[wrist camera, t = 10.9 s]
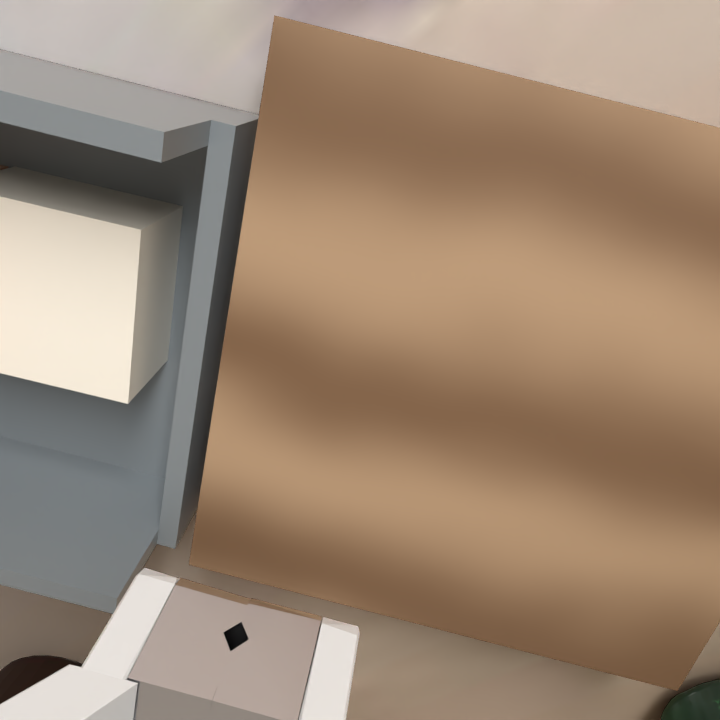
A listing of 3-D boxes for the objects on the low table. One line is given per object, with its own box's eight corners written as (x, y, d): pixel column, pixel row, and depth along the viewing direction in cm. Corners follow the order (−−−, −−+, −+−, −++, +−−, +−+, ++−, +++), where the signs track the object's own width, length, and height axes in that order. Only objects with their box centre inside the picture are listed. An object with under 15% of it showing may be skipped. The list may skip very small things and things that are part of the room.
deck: (300, 22, 18) (274, 15, 15) (897, 173, 18) (981, 193, 15) (217, 508, 24) (188, 564, 22) (650, 619, 24) (677, 690, 22)
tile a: (14, 166, 20) (-54, 183, 17) (182, 206, 20) (141, 229, 17) (15, 324, 22) (-46, 362, 19) (167, 360, 22) (127, 403, 19)
